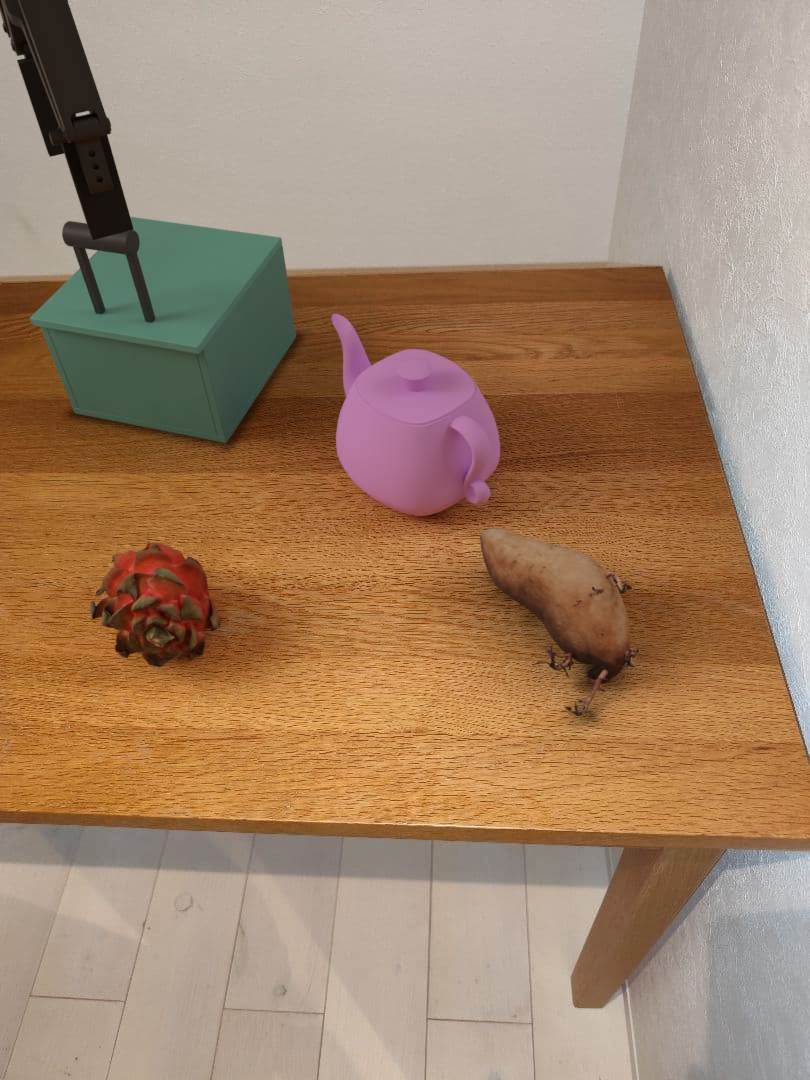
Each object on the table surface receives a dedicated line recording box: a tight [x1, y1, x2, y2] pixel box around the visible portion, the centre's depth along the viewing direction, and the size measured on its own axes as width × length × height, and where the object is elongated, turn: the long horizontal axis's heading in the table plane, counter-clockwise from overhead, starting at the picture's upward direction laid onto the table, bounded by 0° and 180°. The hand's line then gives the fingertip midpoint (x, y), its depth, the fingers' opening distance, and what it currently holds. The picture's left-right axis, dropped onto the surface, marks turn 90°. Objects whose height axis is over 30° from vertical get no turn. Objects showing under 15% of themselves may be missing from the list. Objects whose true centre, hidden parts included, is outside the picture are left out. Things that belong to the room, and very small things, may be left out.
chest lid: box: [29, 216, 283, 354], centre depth 80 cm, size 18×17×9 cm
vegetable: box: [479, 527, 640, 717], centre depth 66 cm, size 16×11×10 cm
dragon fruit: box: [89, 542, 222, 668], centre depth 68 cm, size 8×8×12 cm
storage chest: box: [39, 245, 297, 444], centre depth 88 cm, size 18×17×11 cm
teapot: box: [331, 313, 501, 517], centre depth 77 cm, size 20×13×12 cm, turn 41°
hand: (88, 189), depth 63 cm, fingers open, 13 cm apart
